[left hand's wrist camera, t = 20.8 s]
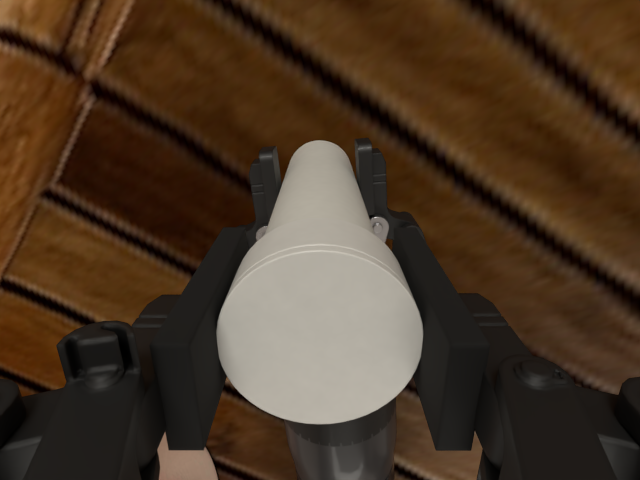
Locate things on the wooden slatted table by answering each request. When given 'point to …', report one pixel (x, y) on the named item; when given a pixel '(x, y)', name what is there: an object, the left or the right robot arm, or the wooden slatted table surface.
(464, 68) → the wooden slatted table surface
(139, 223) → the wooden slatted table surface
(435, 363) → the left robot arm
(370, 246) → the lid
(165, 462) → the anatomical model
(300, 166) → the off-white cylindrical rod
